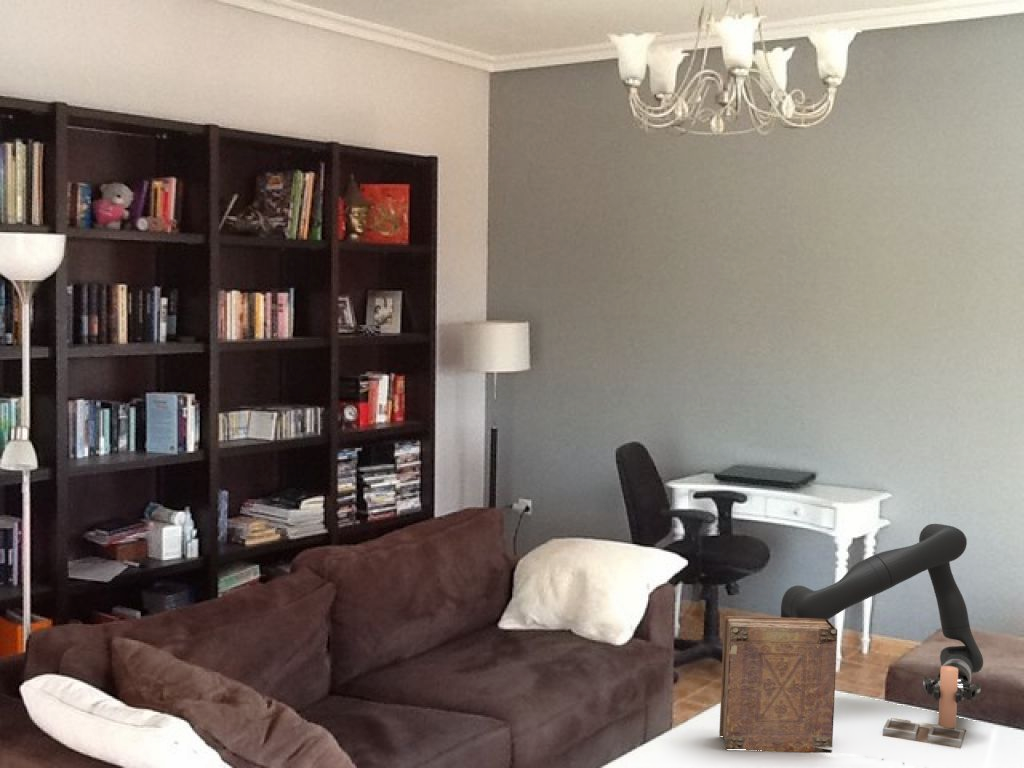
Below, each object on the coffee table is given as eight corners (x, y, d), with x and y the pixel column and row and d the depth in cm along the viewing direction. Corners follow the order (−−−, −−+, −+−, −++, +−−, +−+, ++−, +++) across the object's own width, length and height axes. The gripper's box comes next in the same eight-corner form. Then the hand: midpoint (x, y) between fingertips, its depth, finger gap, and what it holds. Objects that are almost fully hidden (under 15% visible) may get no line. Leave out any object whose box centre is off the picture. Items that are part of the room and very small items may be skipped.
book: (724, 750, 300) (729, 626, 298) (719, 736, 310) (723, 615, 307) (832, 753, 300) (837, 628, 298) (823, 739, 309) (828, 618, 307)
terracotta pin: (937, 726, 305) (939, 669, 304) (939, 721, 309) (941, 664, 308) (955, 729, 304) (957, 671, 302) (956, 723, 307) (959, 667, 306)
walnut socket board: (882, 741, 308) (882, 729, 308) (890, 724, 321) (891, 712, 321) (960, 754, 301) (960, 741, 301) (966, 735, 314) (966, 723, 313)
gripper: (925, 658, 321) (916, 677, 306) (985, 666, 315) (979, 686, 300) (924, 687, 322) (915, 708, 306) (984, 696, 316) (978, 717, 300)
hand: (947, 697), depth 303 cm, fingers closed on terracotta pin, 4 cm apart
